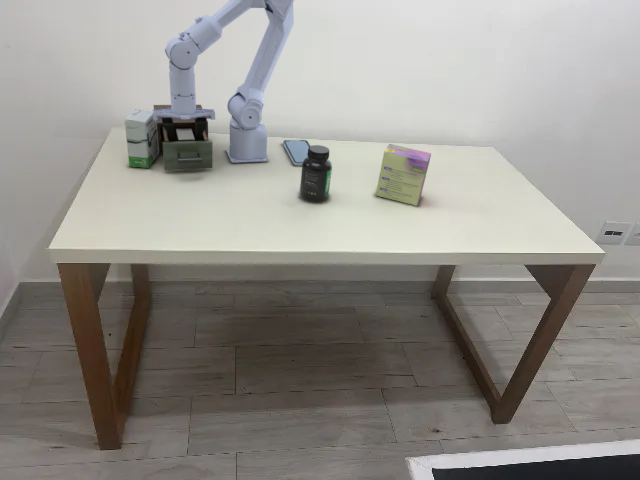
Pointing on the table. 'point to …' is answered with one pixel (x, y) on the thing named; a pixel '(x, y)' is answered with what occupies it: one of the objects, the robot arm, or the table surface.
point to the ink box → (141, 138)
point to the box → (403, 174)
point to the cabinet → (175, 122)
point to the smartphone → (297, 150)
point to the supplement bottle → (316, 174)
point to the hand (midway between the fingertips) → (185, 146)
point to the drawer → (186, 151)
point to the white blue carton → (184, 135)
